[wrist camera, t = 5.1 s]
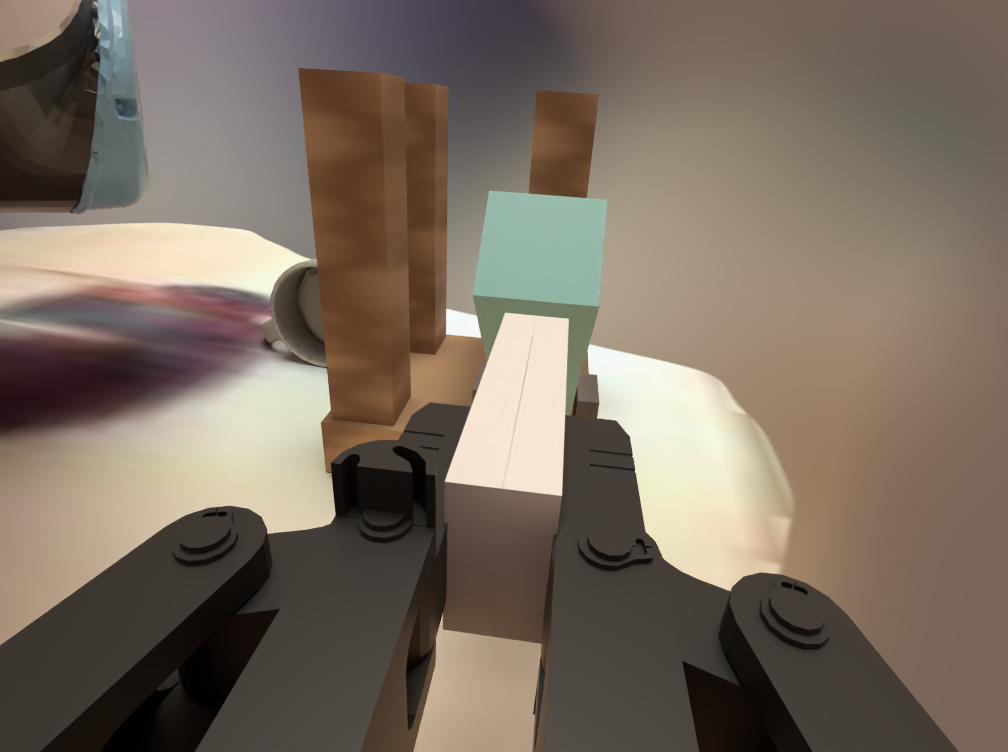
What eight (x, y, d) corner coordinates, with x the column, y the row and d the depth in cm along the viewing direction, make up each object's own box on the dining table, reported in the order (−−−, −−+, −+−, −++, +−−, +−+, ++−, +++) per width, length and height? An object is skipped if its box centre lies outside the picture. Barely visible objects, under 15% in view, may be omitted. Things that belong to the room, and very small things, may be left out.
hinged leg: (499, 432, 28) (469, 294, 14) (506, 374, 29) (485, 190, 15) (564, 440, 28) (603, 307, 14) (570, 381, 29) (610, 200, 15)
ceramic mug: (411, 334, 46) (408, 243, 43) (371, 375, 39) (363, 269, 35) (297, 321, 48) (285, 233, 44) (238, 357, 41) (219, 255, 37)
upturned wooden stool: (326, 471, 28) (283, 66, 20) (398, 367, 40) (389, 83, 32) (585, 502, 27) (648, 88, 19) (582, 386, 39) (621, 97, 31)
